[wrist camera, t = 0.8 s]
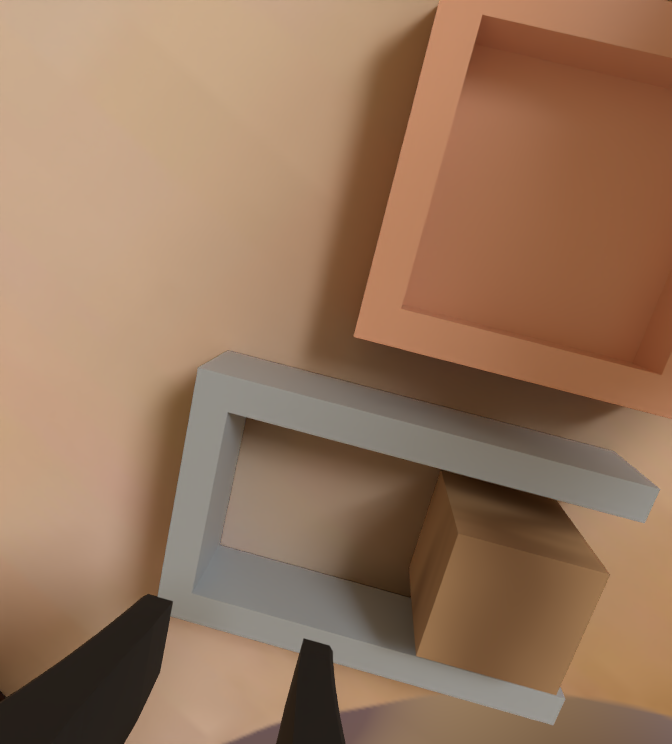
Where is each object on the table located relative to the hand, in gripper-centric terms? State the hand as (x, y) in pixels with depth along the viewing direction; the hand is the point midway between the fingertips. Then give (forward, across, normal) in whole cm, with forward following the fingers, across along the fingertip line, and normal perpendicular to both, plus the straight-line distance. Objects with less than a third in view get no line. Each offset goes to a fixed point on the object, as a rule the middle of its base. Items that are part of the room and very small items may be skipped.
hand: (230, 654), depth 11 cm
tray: (+8, -6, -12) cm, 16 cm away
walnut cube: (+8, -8, 0) cm, 11 cm away
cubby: (+8, -4, 0) cm, 9 cm away
